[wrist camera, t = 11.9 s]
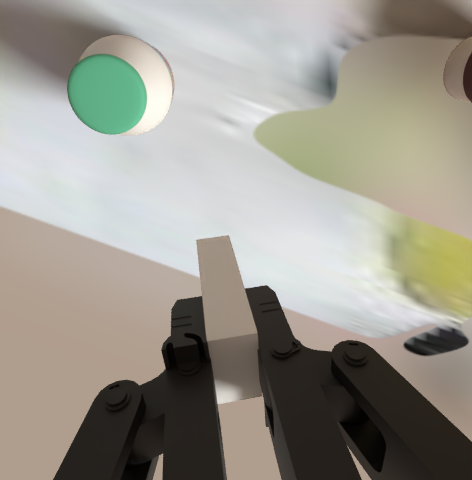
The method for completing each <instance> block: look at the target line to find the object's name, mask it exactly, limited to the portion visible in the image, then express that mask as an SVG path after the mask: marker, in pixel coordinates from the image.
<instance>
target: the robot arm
mask: <svg viewBox="0 0 472 480" xmlns="http://www.w3.org/2000/svg"><path fill="white" fill-rule="evenodd" d="M196 241H197V251H198V261H199V271H200V280H201V290H202V296H200V297H194V298H188V299H181V300H177V301H176V303H175V305H174V306H173V308H172V312H171V313H172V315H171V320H172V321H171V336H170V337H168V339H167V340H166V341H165V342H164V343H163V347H162V350H161V351H162V355H163V359H164V363H165V367H166V369H165V370H164V372H163V373H161V374H160V375H159V376H158V377H156V378H155V379H153V380H151V381H149V382H147V383H144V384H142V385H140V386H139V385H138V384H137V383H135V382H134V381H130V380H121V381H116V382H114V383H112V384H110V385H108V386H106V387H105V388H104V389H103V390H101V391H100V392H99V394H98V395H97V397H96V398H95V399H94V401H93V403H92V405H91V407H90V409H89V411H88V413H87V415H86V417H85V419H84V421H83V423H82V425H81V427H80V428H79V430H78V432H77V434H76V436H75V438H74V440H73V442H72V444H71V446H70V448H69V450H68V452H67V454H66V456H65V458H64V460H63V462H62V464H61V465H60V468H59V470H58V471H57V473H56V475H55V477H54V479H53V480H152V479H153V476H154V472H155V469H156V465H157V461H158V458H159V455H161V454H162V453H163V480H227V477H226V468H225V460H224V451H223V443H222V436H221V426H220V419H219V412H218V404H222V403H227V402H233V401H238V400H243V399H249V398H255V397H260V396H262V393H263V397H264V404H265V421H266V427H269V430H270V434H271V438H272V442H273V446H274V450H275V455H276V459H277V463H278V467H279V471H280V475H281V479H282V480H362V479H361V477H360V475H359V472H358V470H357V468H356V465H355V463H354V461H353V458H352V456H351V454H350V452H349V449H350V450H351V451H352V453H353V454H354V456H355V457H356V458H357V460H358V461H359V463H360V464H361V465H362V467H363V468H364V470H365V471H366V472H367V474H368V475H369V477H370V478H371V479H372V480H472V442H471V441H470V440H469V439H468V438H467V437H466V436H465V435H464V434H463V433H462V432H461V431H460V430H459V429H458V428H457V427H455V426H454V425H453V424H452V423H451V422H450V421H449V420H448V419H447V418H446V417H445V416H444V415H443V414H442V413H441V412H440V411H439V410H437V409H436V408H435V407H434V406H433V405H432V404H431V403H430V402H429V401H428V400H427V399H426V398H425V397H424V396H422V394H421V393H419V392H418V391H417V390H416V389H415V388H414V387H413V386H412V385H411V384H410V383H409V382H408V381H407V380H406V379H405V378H404V377H403V376H401V375H400V374H399V373H398V372H397V371H396V370H395V369H394V368H393V367H392V366H391V365H390V364H389V363H388V362H387V361H386V360H385V359H383V358H382V357H381V356H380V355H379V354H378V353H377V352H376V351H375V350H374V349H373V348H371V347H370V346H368V345H366V344H365V343H362V342H359V341H353V340H347V341H342V342H340V343H339V344H337V345H335V346H334V348H333V350H332V352H330V351H318V350H313V349H310V348H307V347H305V346H303V345H302V344H301V343H300V341H298V340H297V339H295V337H294V336H293V334H292V331H291V329H290V326H289V324H288V322H287V319H286V318H285V315H284V312H283V310H282V307H281V305H280V303H279V300H278V298H277V296H276V293H275V292H274V291H273V290H272V289H270V288H269V287H268V286H267V285H266V286H259V287H253V288H246V289H245V288H244V285H243V282H242V278H241V275H240V271H239V268H238V265H237V261H236V258H235V254H234V251H233V248H232V244H231V241H230V237H229V235H228V236H221V237H214V238H206V239H199V240H196ZM346 444H347V445H346ZM347 446H348V447H349V449H348V447H347Z"/></svg>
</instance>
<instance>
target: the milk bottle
mask: <svg viewBox="0 0 472 480" xmlns="http://www.w3.org/2000/svg"><path fill="white" fill-rule="evenodd" d="M67 90H68V98H69V102H70V104H71V107H72V109H73V111H74V112H75V114H76V115H77V117H78V118H79V119H80V120H81V121H82V122H83V123H84V124H85V125H87V126H88V127H90V128H91V129H93V130H95V131H97V132H100V133H104V134H120V135H138V134H142V133H145V132H147V131H149V130H151V129H153V128H154V127H156V126H157V125H158V124H159V123H160V122H161V121H162V120H163V118H164V117H165V115H166V114H167V112H168V110H169V108H170V105H171V102H172V98H173V93H174V77H173V73H172V70H171V67H170V65H169V63H168V61H167V60H166V58H165V57H164V56H163V55H162V54H161V53H160V52H159V51H158V50H157V49H156V48H154V47H153V46H151V45H150V44H148V43H146V42H144V41H142V40H140V39H138V38H135V37H131V36H126V35H110V36H106V37H103V38H101V39H99V40H97V41H95V42H93V43H92V44H91V45H90V46H88V47H87V48H86V50H85V51H84V52H83V54H82V55H81V57H80V59H79V61H78V63H77V64H76V65H75V67H74V68H73V70H72V71H71V73H70V76H69V79H68V87H67Z"/></svg>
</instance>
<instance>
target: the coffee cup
mask: <svg viewBox="0 0 472 480" xmlns="http://www.w3.org/2000/svg"><path fill="white" fill-rule="evenodd" d="M444 85H445V88H446V90H447V91H448V93H449V94H450V95H451V96H452V97H454V98H456V99H459V100H463V101H467V102H471V103H472V36H471V37H469V38H467V39H465V40H463V41H462V42H461V43H460V44H459V45H458V46H457V47H456V48H455V49H454V50H453V51H452V53H451V54H450V56H449V58H448V60H447V62H446V65H445V69H444Z"/></svg>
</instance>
